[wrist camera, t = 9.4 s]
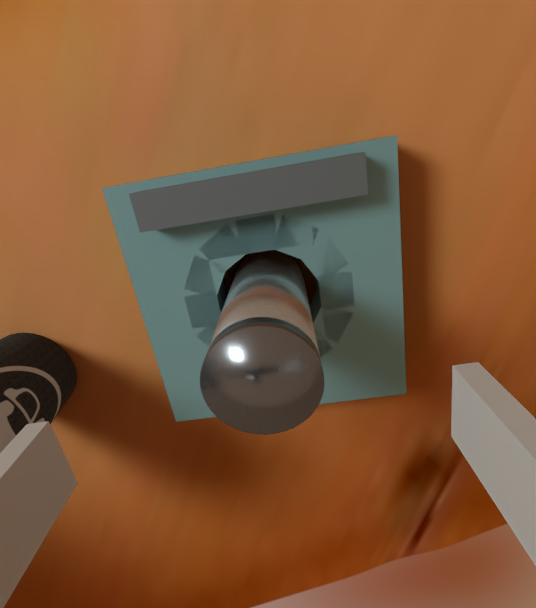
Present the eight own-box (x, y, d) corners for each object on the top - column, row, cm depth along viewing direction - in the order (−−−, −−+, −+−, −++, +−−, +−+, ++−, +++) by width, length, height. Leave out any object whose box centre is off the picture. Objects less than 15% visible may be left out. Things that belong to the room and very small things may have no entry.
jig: (185, 396, 29) (169, 437, 25) (123, 184, 23) (88, 190, 19) (393, 369, 28) (414, 408, 23) (381, 137, 22) (407, 133, 18)
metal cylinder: (241, 321, 26) (214, 440, 15) (227, 256, 25) (186, 337, 14) (308, 311, 26) (330, 427, 15) (299, 245, 24) (316, 319, 13)
